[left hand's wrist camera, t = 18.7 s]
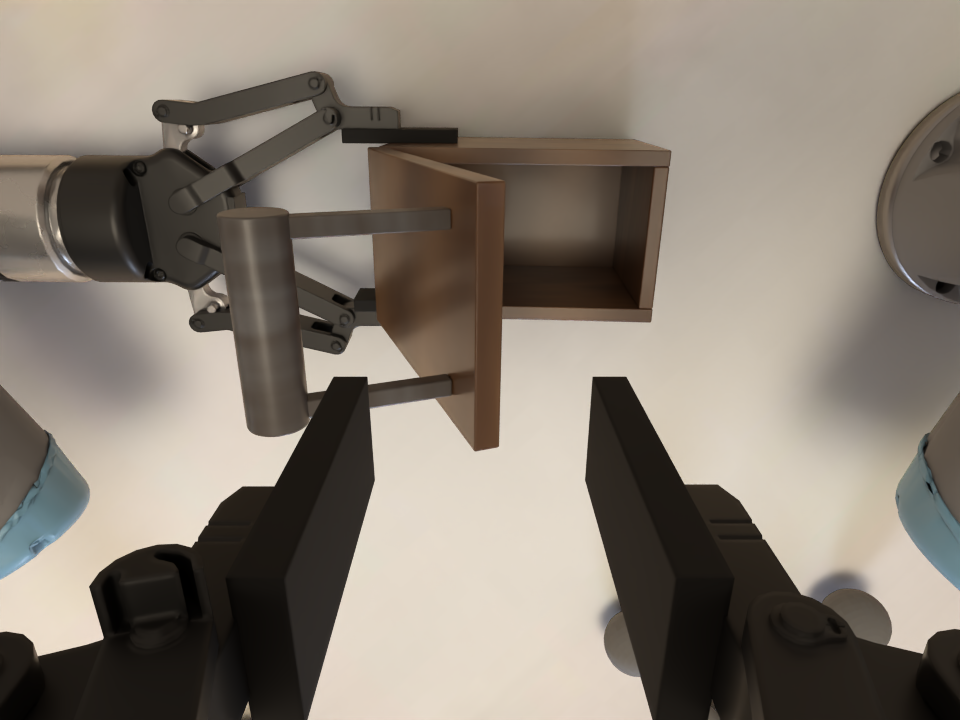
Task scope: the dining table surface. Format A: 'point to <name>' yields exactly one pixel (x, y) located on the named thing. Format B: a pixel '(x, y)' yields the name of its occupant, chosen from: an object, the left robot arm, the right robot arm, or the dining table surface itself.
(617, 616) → the molecular model
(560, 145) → the chest
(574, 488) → the dining table surface
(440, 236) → the lid
